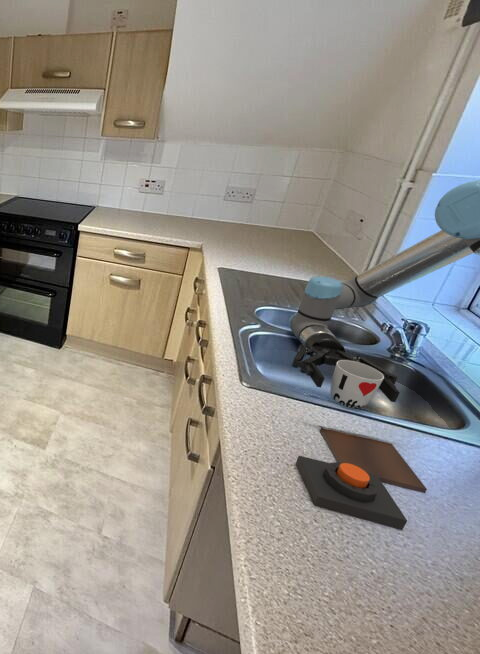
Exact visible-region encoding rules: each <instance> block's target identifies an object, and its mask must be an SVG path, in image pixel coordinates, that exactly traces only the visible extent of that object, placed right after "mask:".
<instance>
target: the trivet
mask: <svg viewBox="0 0 480 654" xmlns="http://www.w3.org/2000/svg"><path fill="white" fill-rule="evenodd" d="M319 433H320V435H321V436H322V438H323V440H324V442H325V443H326V445H327V447H328V448H329V450H330V452H331V453H332V456H333V457H334V459H335V460H336V462H340V463H349V464H352V465H355V466H357V467H359V468H361V469H362V470H364V471H365V472H368V473H372V474H376V475H377V476H378V477H379V479H380V480H381V482H382V483H383V484H386V485H387V484H388V485H391V486H395V487H399V488H403V489H407V490H410V491H415V492H419V493H422V494H425V493H426V492H427V490H428V488H427V487H426V486H425V485H424V483H423V482H422V481H421V479H420V478H419V477H418V475H417V474H416V473H415V472H414V471H413V469H412V468H411V466H410V465H409V464H408V462H407V461H406V460H405V459H404V457H403V456H402V455H401V454H400V452H399V450H397V448H396V447H395V446H394V445H393V443H390V442H387V441H381V440H378V439H373V438H368V437H363V436H359V435H355V434H350V433H347V432H342V431H338V430H332V429H327V428H325V427H320V429H319Z"/></svg>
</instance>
